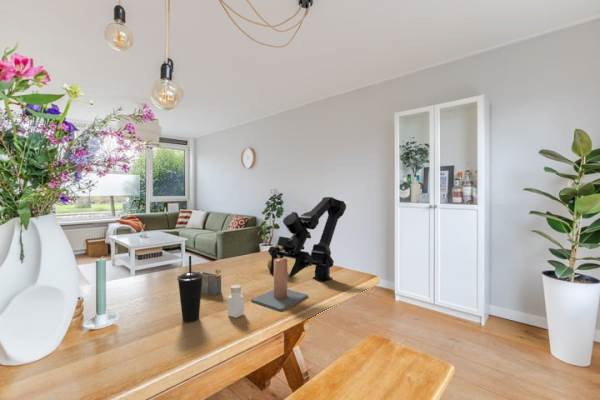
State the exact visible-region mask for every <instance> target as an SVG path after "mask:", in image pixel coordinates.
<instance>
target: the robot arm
mask: <svg viewBox="0 0 600 400" xmlns="http://www.w3.org/2000/svg"><path fill="white" fill-rule="evenodd" d="M346 209H347V204H346V203H345V202H344V201H343V200H339V199H337V198H335V197H332V196H324V197H322V199H321V200H320V202H319V203H317V204H316V206H314V207H313V208H312V209H311V210H310V211H307V212H304V213H302V214H301V215H300V216H299V214H298V213H297V212H296V211H291V213H290V214H287V215H286V216H285V217H284V218H283V220H282V222H283V225H284V226H285V227H286V229H287V231H288V232H289V233H290V234H292V235H291V236H290V237H286V236H278V241H277V242H278V243H277V242H276V243H277V245H280V246H283V247H282V249H283V250H284V252H283V251H281V250H280V248H279V247H274V246H275V245H273V246H269V248H268V250H267V252H268V253H269V256H271V257H272V262H271V268H270V270H269V273H270V274H274V273H273V272H274V259H276V258H289V259H294V263H293V266H292V268H291V270H290V272H289V275H288V277H289V278H292V277H294V276H295V275H297V274H298V273H300V272H301V271H302V270H304V269H306V268H308V267H312V266H315V270H314V276H313V277H312V279H314V280H316V281H317V280H318V281H321V282H326V281H330V280H332V279H333V277H331V276H330V272H331V269H330V268H333V266H334V264H335V263H334V260H333V258H332V256H331V255H332V252H331V248H330V247H331V243H332V239H333V238H334V237H333V236H334V232H335V230H336V226H337V224H338V221H339V219H340V218H341V217H342V216H343V215H344V213H345V211H346ZM326 212H327V215H328V216H327V218H326V221H325V224H324V227H323V230H322V234H321V236H320V239H319V242H318V243H314V244H313V246H312V249H311V251H310V253H309V251H303V250H305V246H304V245H305V244H306V241H307V239H311V238H312V236H311V232H310V231H309V230H315V229H316V228H317V226H318V225H319V224H320V218H321V217H322V216H323V215H324V214H325V213H326ZM271 257H270V258H271Z"/></svg>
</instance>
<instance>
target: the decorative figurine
mask: <svg viewBox="0 0 600 400" xmlns="http://www.w3.org/2000/svg"><path fill="white" fill-rule="evenodd" d="M277 243H278V241H277V242H276V243H275V245H273V246H274V247H279V248H280V250H281V251H283V252H284V251H285V250H283V249H282V247H283V246H280V245H277ZM271 262H272V257H269V259H268V261H267V268H268V270H269V271H270V268H271ZM272 274H274V272H273V273H272Z"/></svg>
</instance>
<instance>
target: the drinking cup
mask: <svg viewBox="0 0 600 400" xmlns="http://www.w3.org/2000/svg"><path fill="white" fill-rule="evenodd" d="M198 272H199V271H192V256H191V255H189V256H188V271H187V272H183V273H182V274H180V275H179V276H177V277H176V278H177V281H178V290H179V299H180V301H179V302H180V308H181V309H180V310H181V319H182V322H184V323H193V322H196V321H197V320H198V321H199V318H200V309H201V298H202V292H201V287H202V278H203V273H201V272H200V273H198Z"/></svg>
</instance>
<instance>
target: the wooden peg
mask: <svg viewBox="0 0 600 400" xmlns="http://www.w3.org/2000/svg"><path fill="white" fill-rule="evenodd" d="M287 289H288V259H287V258H286V257H283V258H276V259H274V273H273V290H274V298H275V299H279V300H281V299H286V298H287Z"/></svg>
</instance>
